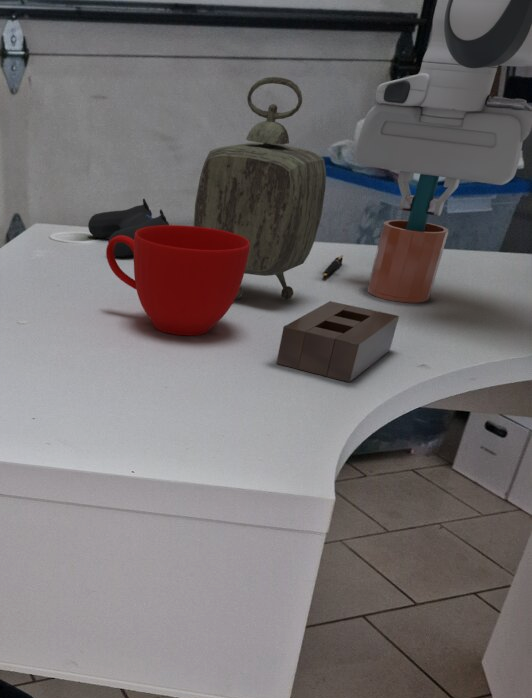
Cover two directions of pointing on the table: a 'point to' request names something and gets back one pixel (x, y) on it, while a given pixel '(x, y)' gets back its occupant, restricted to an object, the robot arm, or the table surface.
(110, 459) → the table surface
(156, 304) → the ceramic cup
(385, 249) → the tumbler
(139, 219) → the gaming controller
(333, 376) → the holder
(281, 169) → the tabletop clock
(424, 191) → the teal square bar
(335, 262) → the fountain pen
